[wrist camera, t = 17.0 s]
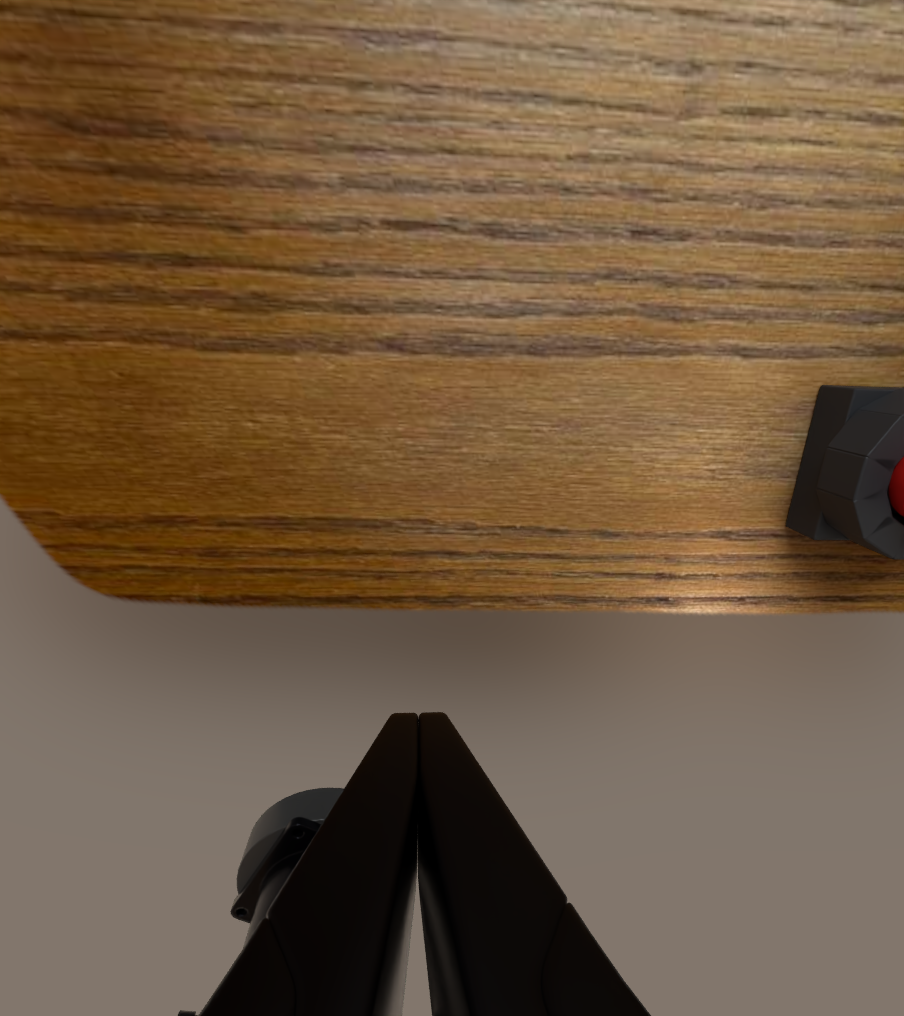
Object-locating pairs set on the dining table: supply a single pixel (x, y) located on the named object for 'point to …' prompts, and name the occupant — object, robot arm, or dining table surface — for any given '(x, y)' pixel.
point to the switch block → (852, 469)
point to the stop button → (897, 488)
